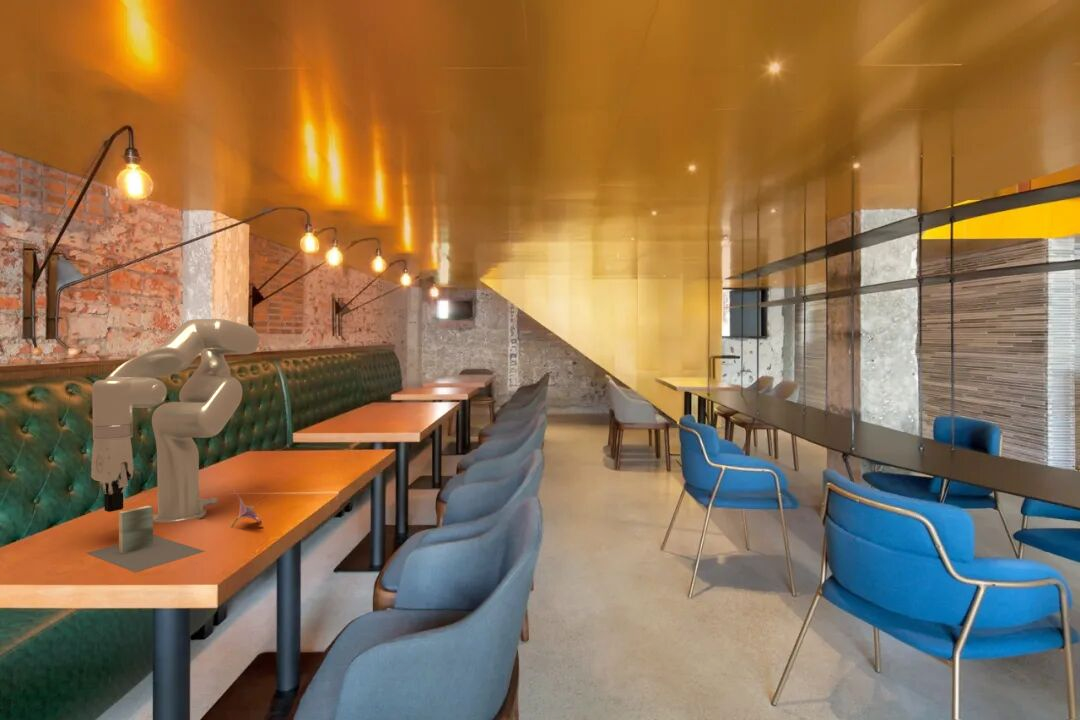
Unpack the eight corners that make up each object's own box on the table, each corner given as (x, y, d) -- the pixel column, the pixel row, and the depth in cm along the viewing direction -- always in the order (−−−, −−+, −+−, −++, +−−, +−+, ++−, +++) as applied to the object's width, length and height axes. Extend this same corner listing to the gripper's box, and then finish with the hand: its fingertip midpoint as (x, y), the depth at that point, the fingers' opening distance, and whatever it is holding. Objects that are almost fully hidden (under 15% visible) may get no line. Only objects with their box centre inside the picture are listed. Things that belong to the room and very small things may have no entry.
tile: (148, 544, 133) (148, 505, 133) (153, 545, 132) (152, 506, 132) (119, 552, 128) (118, 511, 128) (123, 553, 127) (123, 513, 127)
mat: (154, 538, 139) (154, 535, 139) (205, 554, 128) (205, 551, 128) (85, 556, 127) (85, 552, 127) (135, 576, 116) (135, 572, 116)
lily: (252, 540, 141) (271, 503, 144) (205, 524, 139) (226, 486, 143) (262, 540, 152) (280, 505, 155) (218, 525, 150) (237, 490, 154)
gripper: (79, 431, 135) (80, 509, 135) (109, 436, 127) (110, 518, 128) (115, 428, 141) (116, 502, 142) (147, 432, 134) (147, 510, 134)
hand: (114, 509), depth 135 cm, fingers closed
